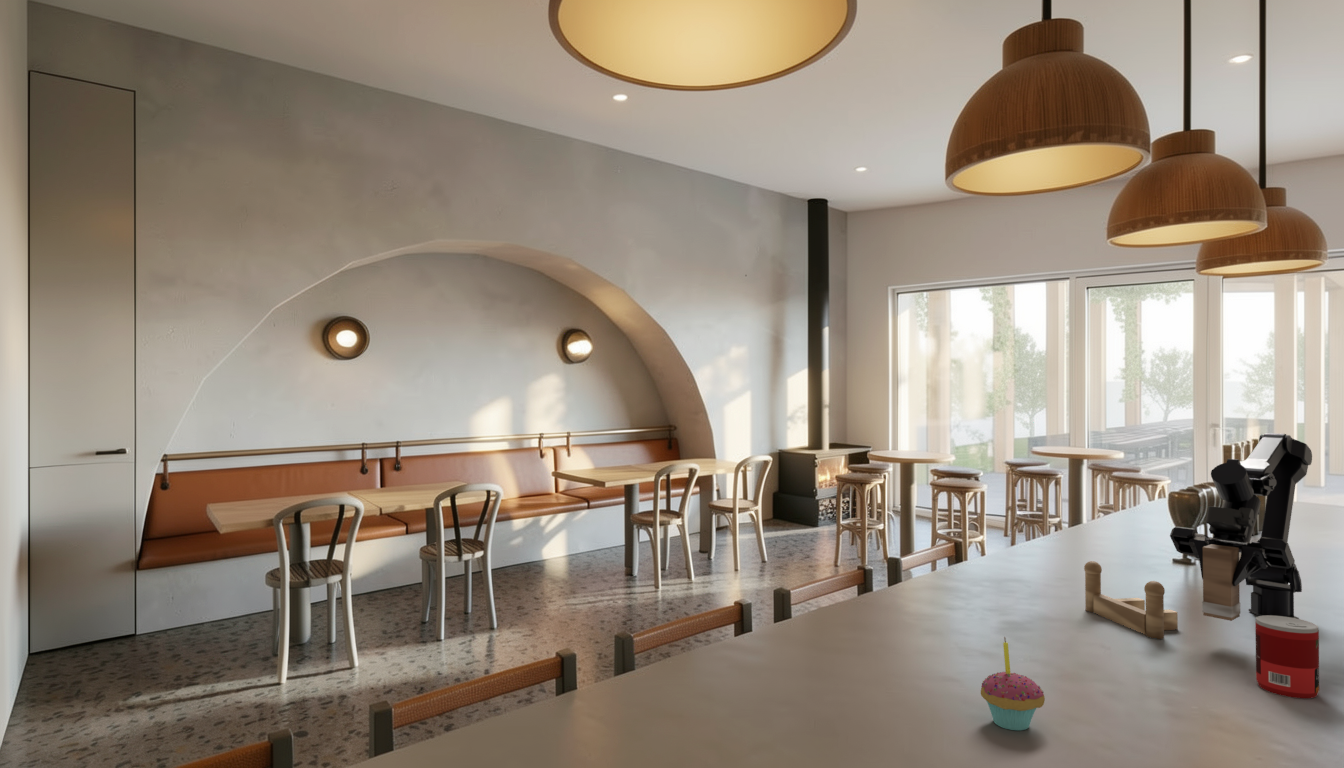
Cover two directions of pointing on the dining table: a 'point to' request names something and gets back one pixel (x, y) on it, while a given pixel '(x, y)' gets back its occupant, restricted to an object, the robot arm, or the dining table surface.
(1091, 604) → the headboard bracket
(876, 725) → the dining table surface
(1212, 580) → the block
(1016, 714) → the cupcake
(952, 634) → the dining table surface
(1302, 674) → the canned food
